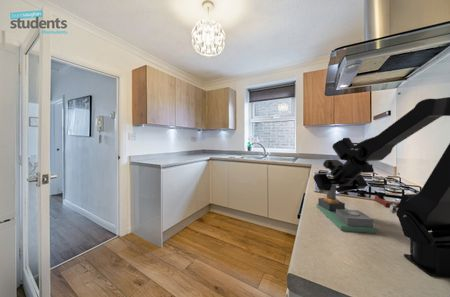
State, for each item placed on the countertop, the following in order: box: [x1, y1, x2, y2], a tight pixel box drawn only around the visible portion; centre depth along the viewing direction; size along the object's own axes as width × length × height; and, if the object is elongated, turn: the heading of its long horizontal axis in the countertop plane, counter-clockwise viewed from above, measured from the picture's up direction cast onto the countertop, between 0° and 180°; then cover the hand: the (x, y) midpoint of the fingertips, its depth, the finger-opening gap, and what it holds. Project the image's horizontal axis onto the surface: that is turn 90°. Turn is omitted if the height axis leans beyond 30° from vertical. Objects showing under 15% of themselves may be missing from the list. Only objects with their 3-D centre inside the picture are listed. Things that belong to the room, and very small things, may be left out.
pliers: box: [374, 195, 400, 213], centre depth 75 cm, size 12×20×3 cm, turn 141°
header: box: [317, 197, 346, 211], centre depth 70 cm, size 7×6×3 cm
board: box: [316, 203, 377, 234], centre depth 64 cm, size 21×10×2 cm, turn 171°
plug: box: [323, 185, 340, 203], centre depth 70 cm, size 4×4×12 cm
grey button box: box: [336, 209, 375, 227], centre depth 58 cm, size 8×8×3 cm
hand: (328, 191), depth 71 cm, fingers open, 8 cm apart
